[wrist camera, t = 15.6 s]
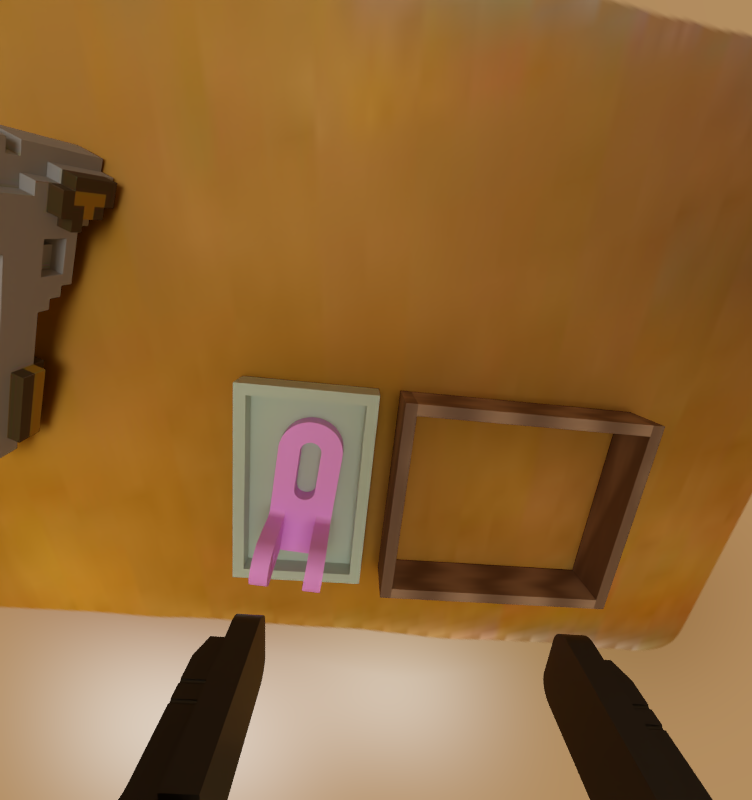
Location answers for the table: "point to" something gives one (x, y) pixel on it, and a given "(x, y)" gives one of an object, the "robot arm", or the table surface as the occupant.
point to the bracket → (300, 504)
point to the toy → (37, 257)
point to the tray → (301, 468)
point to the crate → (522, 584)
